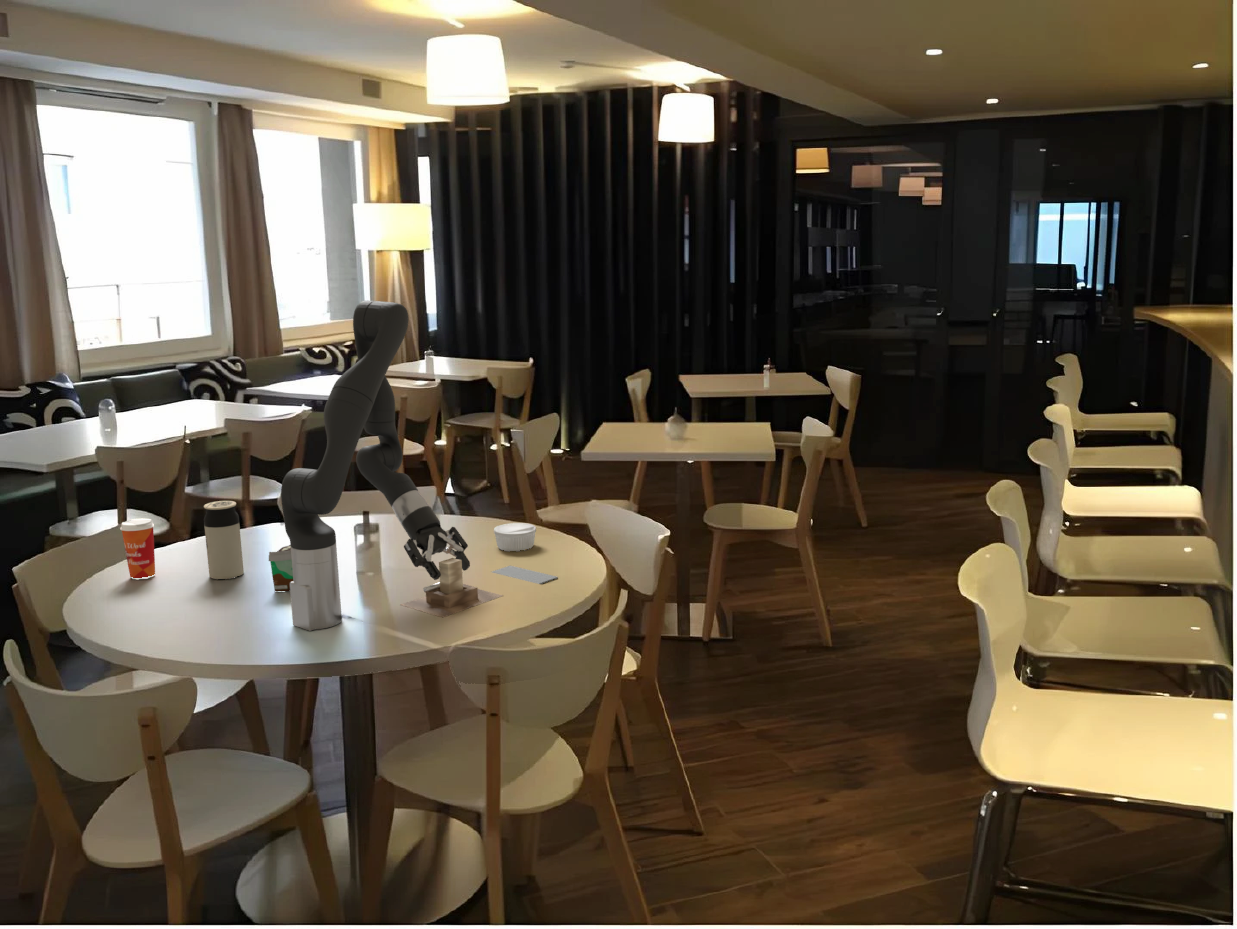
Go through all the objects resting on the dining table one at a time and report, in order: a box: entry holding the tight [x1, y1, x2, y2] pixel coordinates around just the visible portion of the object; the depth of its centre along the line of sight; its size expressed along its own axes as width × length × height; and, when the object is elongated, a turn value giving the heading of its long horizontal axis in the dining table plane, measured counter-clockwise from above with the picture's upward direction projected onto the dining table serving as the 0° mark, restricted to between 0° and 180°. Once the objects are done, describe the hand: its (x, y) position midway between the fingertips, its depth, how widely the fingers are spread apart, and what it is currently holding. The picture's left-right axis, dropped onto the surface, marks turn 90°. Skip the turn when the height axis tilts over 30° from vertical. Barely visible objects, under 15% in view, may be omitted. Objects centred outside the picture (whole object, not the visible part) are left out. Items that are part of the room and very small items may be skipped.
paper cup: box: [119, 517, 156, 578], centre depth 263 cm, size 8×8×14 cm
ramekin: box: [493, 522, 537, 552], centre depth 284 cm, size 11×11×5 cm
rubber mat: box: [491, 565, 559, 585], centre depth 254 cm, size 18×16×1 cm
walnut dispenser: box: [400, 581, 504, 618], centre depth 238 cm, size 18×14×5 cm
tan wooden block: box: [438, 557, 464, 594], centre depth 238 cm, size 4×3×9 cm
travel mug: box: [203, 500, 245, 580], centre depth 262 cm, size 8×8×18 cm
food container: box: [268, 544, 293, 592], centre depth 253 cm, size 12×6×10 cm, turn 168°
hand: (453, 573), depth 237 cm, fingers open, 8 cm apart
